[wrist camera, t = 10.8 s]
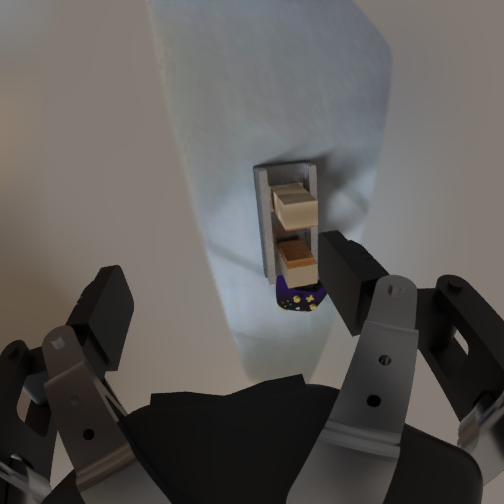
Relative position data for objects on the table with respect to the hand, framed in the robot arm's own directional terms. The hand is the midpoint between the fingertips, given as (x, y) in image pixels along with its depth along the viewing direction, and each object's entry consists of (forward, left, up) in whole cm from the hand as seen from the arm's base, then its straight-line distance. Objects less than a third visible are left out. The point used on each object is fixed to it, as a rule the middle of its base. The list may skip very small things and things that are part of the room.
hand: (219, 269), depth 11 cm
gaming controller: (+24, +11, -29) cm, 39 cm away
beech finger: (+6, +9, -26) cm, 29 cm away
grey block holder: (+10, +9, -28) cm, 31 cm away
